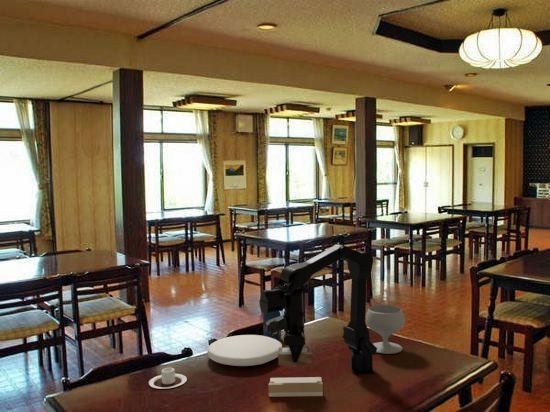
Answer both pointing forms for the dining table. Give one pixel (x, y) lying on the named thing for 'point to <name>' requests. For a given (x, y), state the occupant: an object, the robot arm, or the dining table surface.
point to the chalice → (385, 325)
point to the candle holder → (168, 378)
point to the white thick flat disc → (244, 350)
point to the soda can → (266, 333)
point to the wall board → (295, 386)
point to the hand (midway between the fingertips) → (295, 358)
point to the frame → (287, 359)
